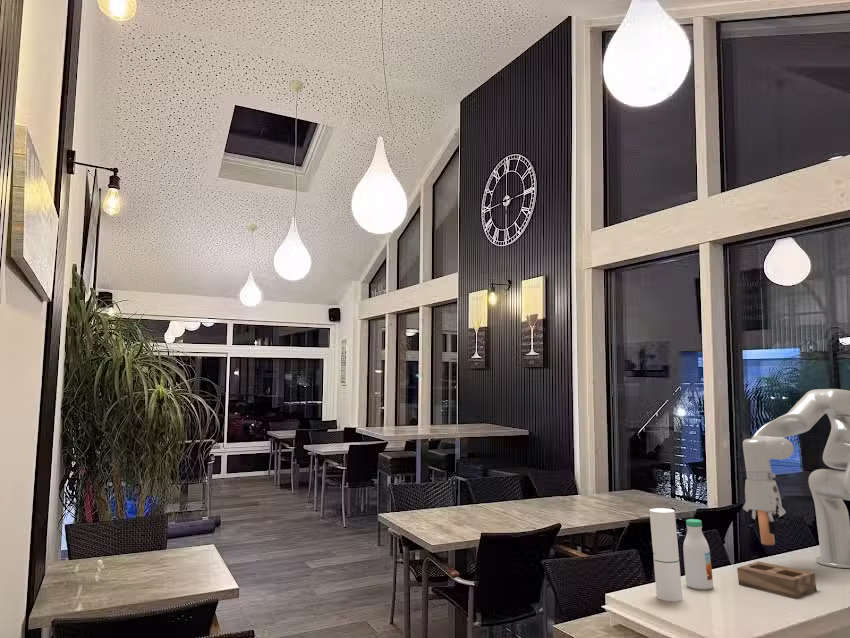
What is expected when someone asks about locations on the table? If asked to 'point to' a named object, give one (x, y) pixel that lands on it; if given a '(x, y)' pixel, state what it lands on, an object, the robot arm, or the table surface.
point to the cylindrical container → (665, 554)
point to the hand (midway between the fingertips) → (766, 531)
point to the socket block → (777, 579)
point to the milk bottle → (697, 557)
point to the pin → (765, 528)
